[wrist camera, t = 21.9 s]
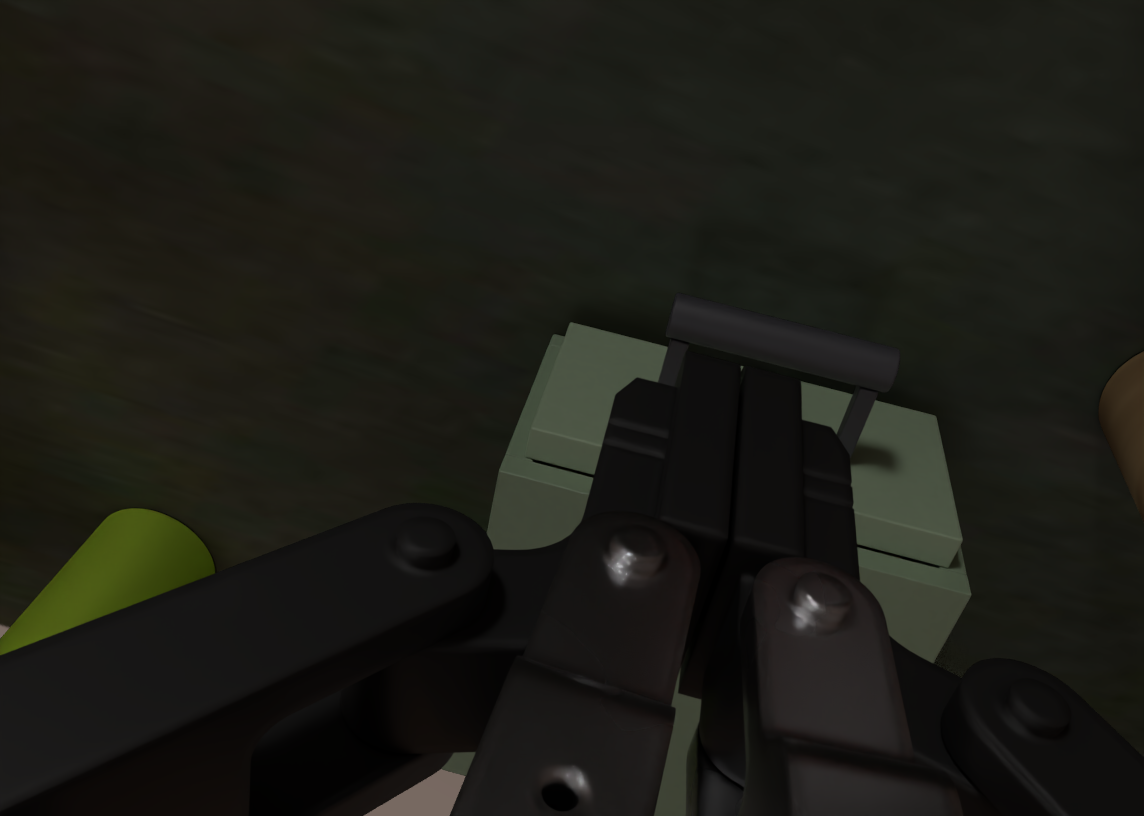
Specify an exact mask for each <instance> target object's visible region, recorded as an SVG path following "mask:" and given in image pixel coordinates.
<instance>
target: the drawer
mask: <svg viewBox="0 0 1144 816" xmlns="http://www.w3.org/2000/svg"><path fill="white" fill-rule="evenodd" d="M665 334H666V336H667V337H670V341H669V345H668V347H666V346H662V345H658V344H654V343H650V342H646V341H643V340H639V339H635V338H631V337H627V336H623V335H619V334H615V333H611V332H607V331H604V330H600V329H596V328H592V327H588V326H584V325H580V324H576V323H572V322H571V323H570V324H569V327H568V329H567V332H566V335H565V337H564V340H563V343H562V345H561V348H560V351H559V353H558V356H557V359H556V361H555V364H554V367H553V369H552V372H551V375H550V377H549V380H548V383H547V385H546V388H545V391H544V393H543V396H542V399H541V401H540V404H539V407H538V409H537V412H536V415H535V417H534V420H533V423H532V425H531V428H530V433H529V438H528V443H527V447H526V452H525V457H527V458H530V459H534V460H538V461H542V462H546V463H549V464H552V467H554V468H558V469H562V470H566V471H569V472H573V473H577V474H581V475H585V476H588V477H592V478H593V477H594V474H595V470H596V466H597V462H598V459H599V455H600V451H601V447H602V443H603V440H604V436H605V432H606V428H607V425H608V421H609V417H610V413H611V409H612V406H613V402H614V398H615V394H617V393H618V392H619V391H620V390H622V389H623V388H624V387H625V386H627V385H628V384H629V383H630V382H632V381H633V380H634V379H635V378H637V377H638V378H642V379H646V380H650V381H654V382H658V383H662V384H666V385H669V386H673V387H674V386H675V382H676V379H677V376H678V372H679V369H680V365H681V362H682V359H683V356H684V354H685V351H687V350H688V347H689V343H693V344H697V345H701V346H705V347H709V348H713V349H716V350H720V351H724V352H728V353H732V354H736V355H740V356H744V357H748V358H752V359H755V360H759V361H763V362H767V363H771V364H775V365H779V366H783V367H787V368H791V369H794V370H798V371H802V372H806V373H810V374H814V375H818V376H822V377H826V378H829V379H833V380H837V381H841V382H845V383H849V384H853V385H856V388H855V390H854V393H853V394H849V393H845V392H841V391H837V390H833V389H829V388H825V387H821V386H818V385H814V384H810V383H806V382H802V381H801V395H802V420H806V421H810V422H813V423H817V424H821V425H825V426H829V427H832V429H833V430H834V432H835V433H836V435H837V436H838V438H839V439H840V441H841V442H842V444H843V445H844V447H845V448H846V450H847V451H848V453H849V455H850V465H851V477H852V483H851V487H852V489H853V501H854V504H853V509H854V513H855V525H856V537H857V547H859V548H863V549H866V550H870V551H874V552H878V553H882V554H885V555H889V556H893V557H897V558H901V556H904V557H907V558H911V559H915V560H919V561H923V562H926V563H930V564H934V565H938V566H942V567H945V568H948V567H949V566H950V564H951V562H952V560H953V558H954V556H955V554H956V553H957V551H958V549H959V547H960V545H961V543H962V541H963V539H962V534H961V530H960V525H959V520H958V516H957V511H956V506H955V502H954V497H953V492H952V488H951V483H950V478H949V474H948V469H947V464H946V460H945V455H944V450H943V446H942V441H941V436H940V431H939V427H938V422H937V417H936V416H934V415H930V414H927V413H923V412H919V411H915V410H911V409H907V408H903V407H899V406H895V405H892V404H888V403H884V402H880V401H876V398H877V395H878V391H880V392H888V391H889V390H890V388H891V387H892V385H893V383H894V381H895V378H896V376H897V372H898V369H899V364H900V351H899V349H897V348H894V347H890V346H886V345H882V344H878V343H874V342H870V341H866V340H862V339H858V338H854V337H850V336H847V335H843V334H839V333H835V332H831V331H827V330H823V329H819V328H815V327H811V326H807V325H803V324H799V323H795V322H792V321H788V320H784V319H780V318H776V317H772V316H768V315H764V314H760V313H756V312H752V311H748V310H744V309H741V308H737V307H733V306H729V305H725V304H721V303H717V302H713V301H709V300H705V299H701V298H697V297H693V296H690V295H686V294H682V293H677V294H676V295H675V298H674V302H673V305H672V309H671V313H670V316H669V320H668V324H667V328H666V333H665ZM743 367H744V366H741V371H742V369H743Z"/></svg>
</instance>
